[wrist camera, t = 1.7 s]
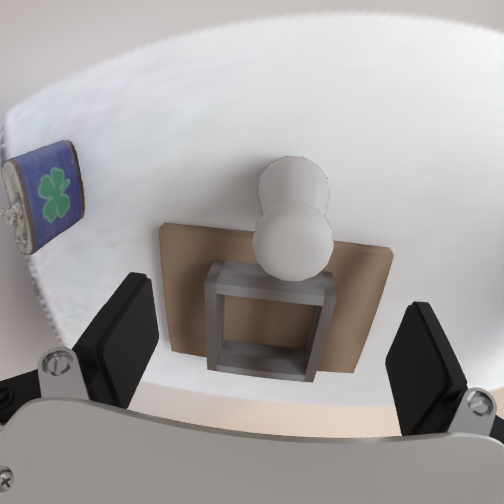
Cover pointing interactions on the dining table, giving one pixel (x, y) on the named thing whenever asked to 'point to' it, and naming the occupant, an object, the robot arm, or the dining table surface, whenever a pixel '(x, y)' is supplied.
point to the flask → (43, 194)
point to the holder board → (267, 305)
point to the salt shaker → (293, 220)
